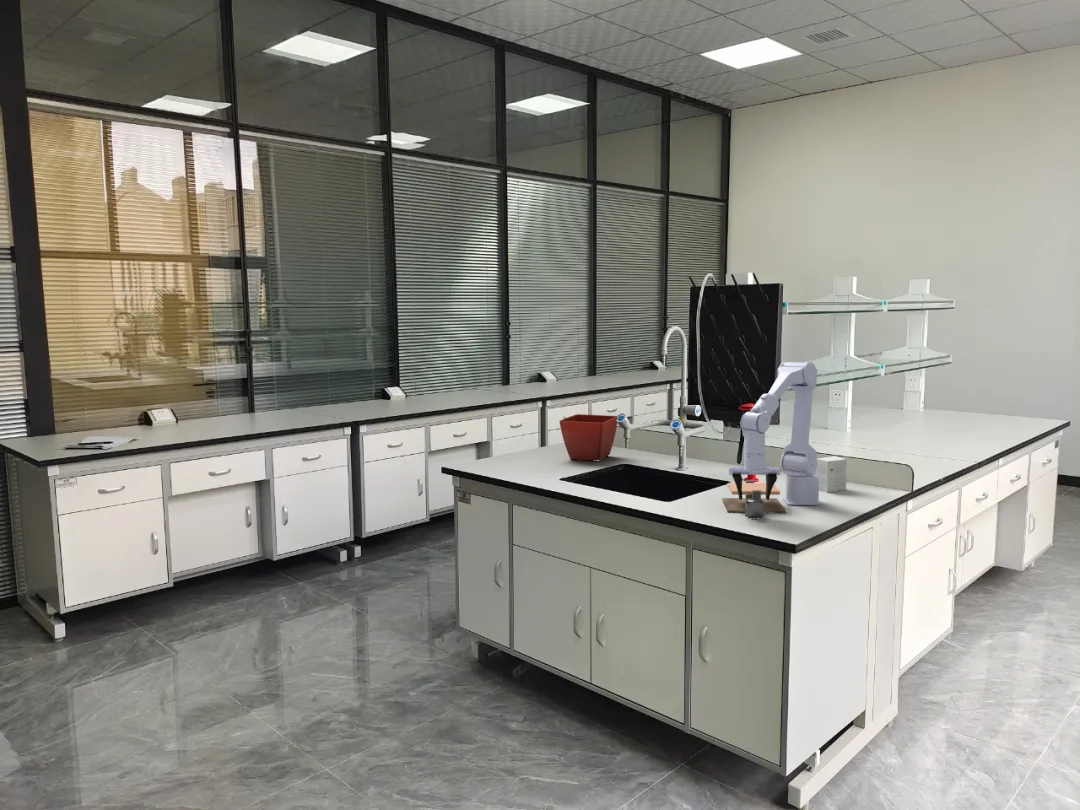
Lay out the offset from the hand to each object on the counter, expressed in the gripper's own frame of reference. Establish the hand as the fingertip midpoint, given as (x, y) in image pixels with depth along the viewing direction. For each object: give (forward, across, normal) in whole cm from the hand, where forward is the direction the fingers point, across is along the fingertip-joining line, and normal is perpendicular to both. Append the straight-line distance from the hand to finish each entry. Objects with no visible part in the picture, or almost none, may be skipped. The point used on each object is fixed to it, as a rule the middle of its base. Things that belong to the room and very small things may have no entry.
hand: (753, 498), depth 224 cm
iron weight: (+5, 0, 0) cm, 5 cm away
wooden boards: (+5, +2, +12) cm, 13 cm away
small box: (+5, +30, +34) cm, 46 cm away
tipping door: (0, +2, +12) cm, 12 cm away
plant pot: (+6, -53, +88) cm, 103 cm away
